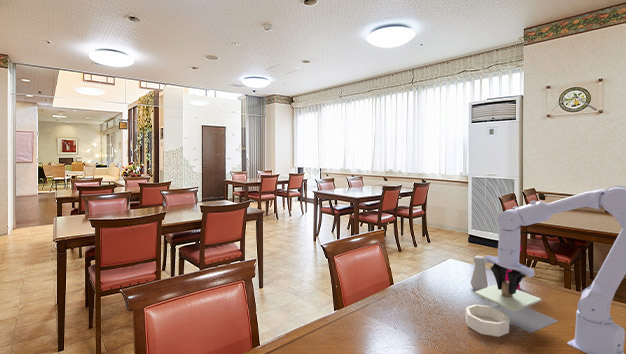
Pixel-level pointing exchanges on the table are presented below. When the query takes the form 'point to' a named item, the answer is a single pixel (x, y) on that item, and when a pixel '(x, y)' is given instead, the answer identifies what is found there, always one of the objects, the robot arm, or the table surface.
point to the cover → (507, 297)
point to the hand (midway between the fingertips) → (506, 291)
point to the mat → (527, 318)
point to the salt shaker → (479, 274)
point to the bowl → (487, 320)
